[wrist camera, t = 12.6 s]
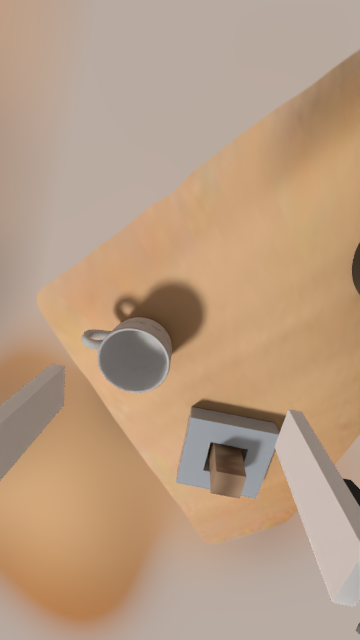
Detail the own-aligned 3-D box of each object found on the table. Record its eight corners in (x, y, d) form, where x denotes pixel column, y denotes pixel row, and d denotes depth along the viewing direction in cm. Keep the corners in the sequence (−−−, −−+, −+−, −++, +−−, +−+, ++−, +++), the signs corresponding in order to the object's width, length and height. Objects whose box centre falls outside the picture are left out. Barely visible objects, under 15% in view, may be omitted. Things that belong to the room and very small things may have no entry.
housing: (275, 422, 45) (280, 434, 42) (252, 484, 50) (256, 498, 47) (191, 406, 45) (191, 417, 43) (177, 469, 50) (176, 482, 48)
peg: (238, 439, 47) (246, 477, 39) (233, 458, 48) (239, 498, 41) (213, 434, 47) (216, 471, 40) (209, 454, 49) (210, 493, 41)
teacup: (186, 334, 41) (183, 354, 34) (154, 379, 44) (145, 407, 37) (116, 289, 40) (96, 300, 32) (88, 339, 43) (65, 360, 35)
